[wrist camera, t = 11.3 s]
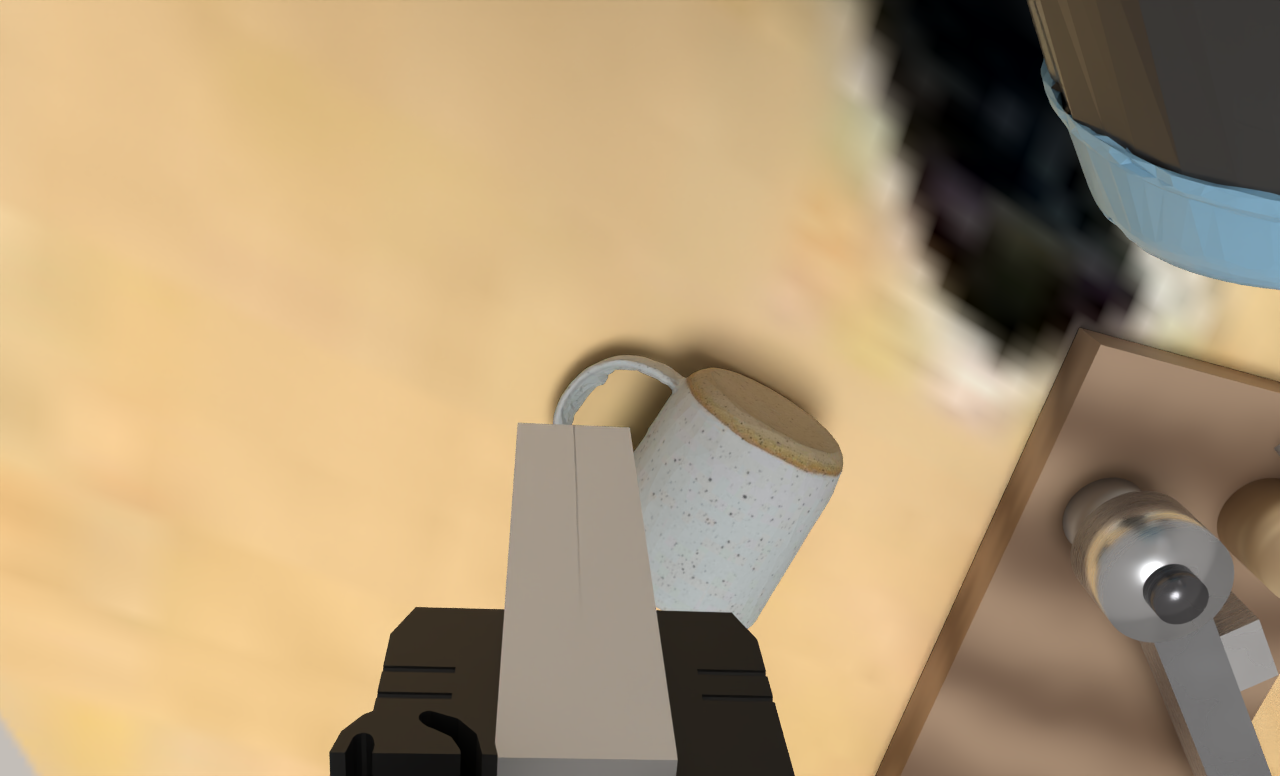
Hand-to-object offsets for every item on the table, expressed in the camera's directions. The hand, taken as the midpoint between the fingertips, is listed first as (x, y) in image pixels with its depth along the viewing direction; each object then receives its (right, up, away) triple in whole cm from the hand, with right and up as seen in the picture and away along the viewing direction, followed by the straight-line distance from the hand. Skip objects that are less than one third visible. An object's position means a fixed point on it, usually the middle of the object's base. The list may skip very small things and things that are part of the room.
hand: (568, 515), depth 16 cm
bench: (+22, -12, +38) cm, 46 cm away
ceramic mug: (+2, -1, +33) cm, 33 cm away
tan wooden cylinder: (+27, -4, +33) cm, 43 cm away
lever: (+25, -12, +35) cm, 45 cm away
